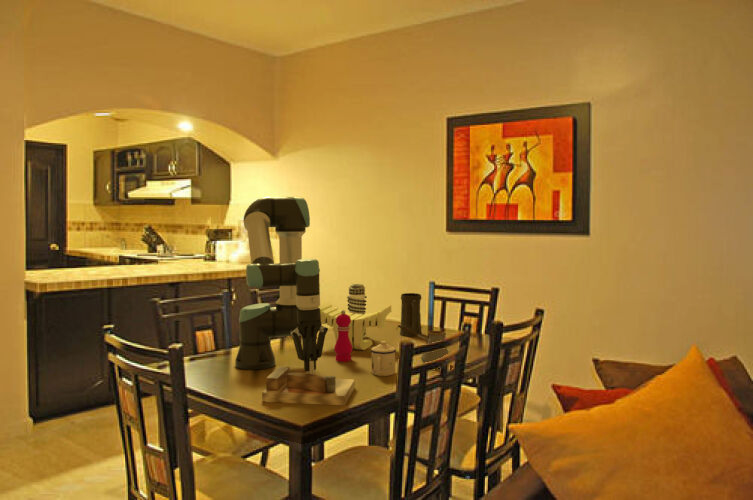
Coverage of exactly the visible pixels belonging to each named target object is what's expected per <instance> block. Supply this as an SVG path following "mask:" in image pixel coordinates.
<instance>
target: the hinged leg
mask: <svg viewBox="0 0 753 500" xmlns="http://www.w3.org/2000/svg"><path fill="white" fill-rule="evenodd" d="M286 377H287V387H291V388H298V389H305V390H311V391H318V392H328V393H333V392H335V391H336V386H335V379H336V376H334V375H328V376H327V375H320V374H319V375H318V374H314V375H313V374H307V372H297V371H291V372H290V373H289V374H286Z"/></svg>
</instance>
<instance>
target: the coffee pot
mask: <svg viewBox="0 0 753 500" xmlns="http://www.w3.org/2000/svg"><path fill="white" fill-rule="evenodd" d="M399 328H402V329H404V330H406V331H407V332H409V333H411V334H414V335H416V336H415V337H419V338H421V339H423V340H425V341H426V344H428V343H432V342H436V341H440V340H444V334H445V332H444V331H442V330H441V331H440V330H430V331H429V330H428V331H427V335H428V337H426V336H423V335H419V334H418V333H416V332H414V331H412V330H410V329H407V328H405V327H402V326H401V324H400V325H399V324H397V327H396V330H398V329H399ZM448 353H449V350H448V348H447V347H446V348H445V349H441V350H437V351H434V352H430V353H425V354H423V353H422V354H421V356H420V359H421V362H422V364H424V363H425V362H429V361H433V360H436V359H438V358H441V357H443V356H444V355H446V354H448ZM449 354H450V353H449Z"/></svg>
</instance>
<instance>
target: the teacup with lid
mask: <svg viewBox="0 0 753 500" xmlns="http://www.w3.org/2000/svg"><path fill="white" fill-rule="evenodd" d="M370 351H371V374H372V375H374V376H378V377H379V376H380V377H388V376H393V375H394V374H395V373H396V351H397V350H396V348H395V347H394V346H391V345H390V344H388V343H387V342H386V341H385V340H383V341H380V344H377V345H375V346H373V347H371V350H370Z"/></svg>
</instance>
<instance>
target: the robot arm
mask: <svg viewBox="0 0 753 500" xmlns="http://www.w3.org/2000/svg"><path fill="white" fill-rule="evenodd" d="M307 202H308V201H307V200H306V199H305V198H304V197H300V196H299V197H298V196H263V197H261V198H260V197H259V198H258V199H256V200H254V201H253V202H252V203H251V204H250V205H249V206H248V207H247V208H246V210H245V212H244V215H243V226H244V228H245V230H246V231H247V237H248V238H247V239H248V245H249V246H248V247H249V256H250V264H247V265H246V268H245V272H246V273H245V274H246V275H245V277H246V285H247V286H248V287H250V288H253V287H254V288H256V287H257V288H267V287H279V298H278V299H277V300H276V301H275V306H272V305H271V303H268V302H265V303H255V304H250V305H246V306H244V307H242V308H241V309H240V310H239V319H238V322H239V348H238V349H237V354H236V356H235V360H234V361H235V362H234V363H235V365H234V366H235V368H237V367H238V368H237V369H239V368H241V369H240V370H245V369H248V370H250V371H253V370H254V371H255V370H265V369H270V368H272V367H274V366H276V357H275V354H274V351H273V348H272V343H271V338H281V337H282V338H283V337H291V338H292V340H293V344H294V347H295V351H296V355H297V359H298V360H300V361H302V362H303V369H304V370H303V371H305V372H306V374H313V375H315V371H316V370H317V361H318V359H319V358H322V356H323V355H322V354H323V350H324V349H323V348H324V343H325V339H326V335H327V333H328V331H329V328H328V327H327V326H323V324H321V322H320V318H321V315H320V308H318V307H319V306H320V305H321V289H320V287H321V285H320V272H321V270H320V261H319V260H318V259H316V258H315V259H314V258H302V257H303V256H302V255H303V254H302V253H303V251H302V249H303V248H302V242H303V241H302V239H303V238H302V237H303V236H304V234H306V229H307V228H309V227H310V226H311V225H310V223H311V221H310V220H311V217H310V211H309V206H308V203H307ZM270 228H274V232H275V233H276V235H277V236H278V237H279V238H278V241H279V242H278V244H279V245H278V246H279V248H278V249H279V250H278V251H279V253H278V255H279V263H275V259H274V255H273V254H274V253H273V248H272V242H271V236H270V230H269V229H270ZM300 337H301V340H302V342H301V340H300ZM248 370H247V371H248Z"/></svg>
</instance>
